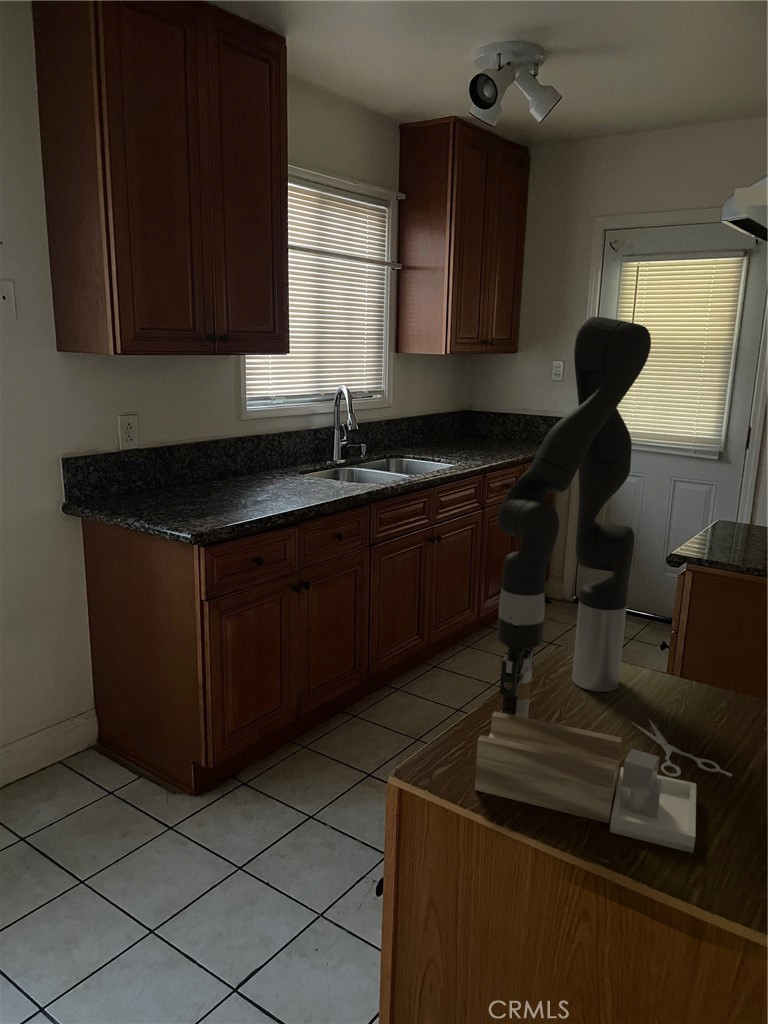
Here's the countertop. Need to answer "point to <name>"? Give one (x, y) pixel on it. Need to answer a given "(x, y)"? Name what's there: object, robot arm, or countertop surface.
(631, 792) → the dark grey cube
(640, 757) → the grey cube
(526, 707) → the sprinkles bottle
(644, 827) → the tray
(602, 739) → the channel
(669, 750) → the scissors
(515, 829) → the countertop surface
